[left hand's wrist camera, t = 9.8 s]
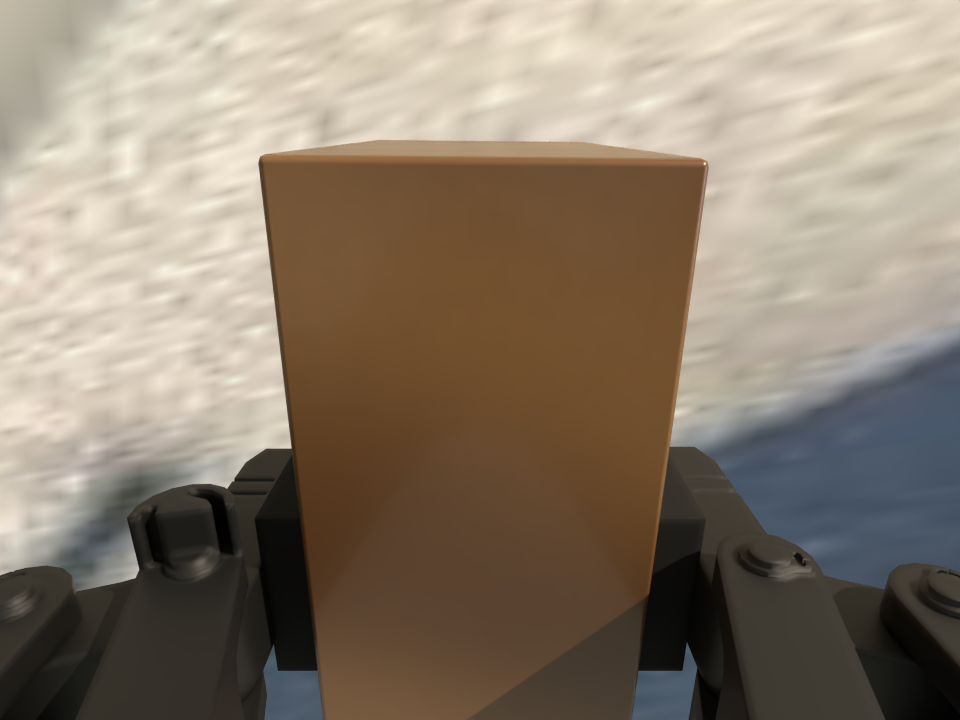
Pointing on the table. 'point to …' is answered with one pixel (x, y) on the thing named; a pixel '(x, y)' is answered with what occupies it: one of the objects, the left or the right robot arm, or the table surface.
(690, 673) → the table surface
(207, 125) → the table surface
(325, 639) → the beam
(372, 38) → the table surface
